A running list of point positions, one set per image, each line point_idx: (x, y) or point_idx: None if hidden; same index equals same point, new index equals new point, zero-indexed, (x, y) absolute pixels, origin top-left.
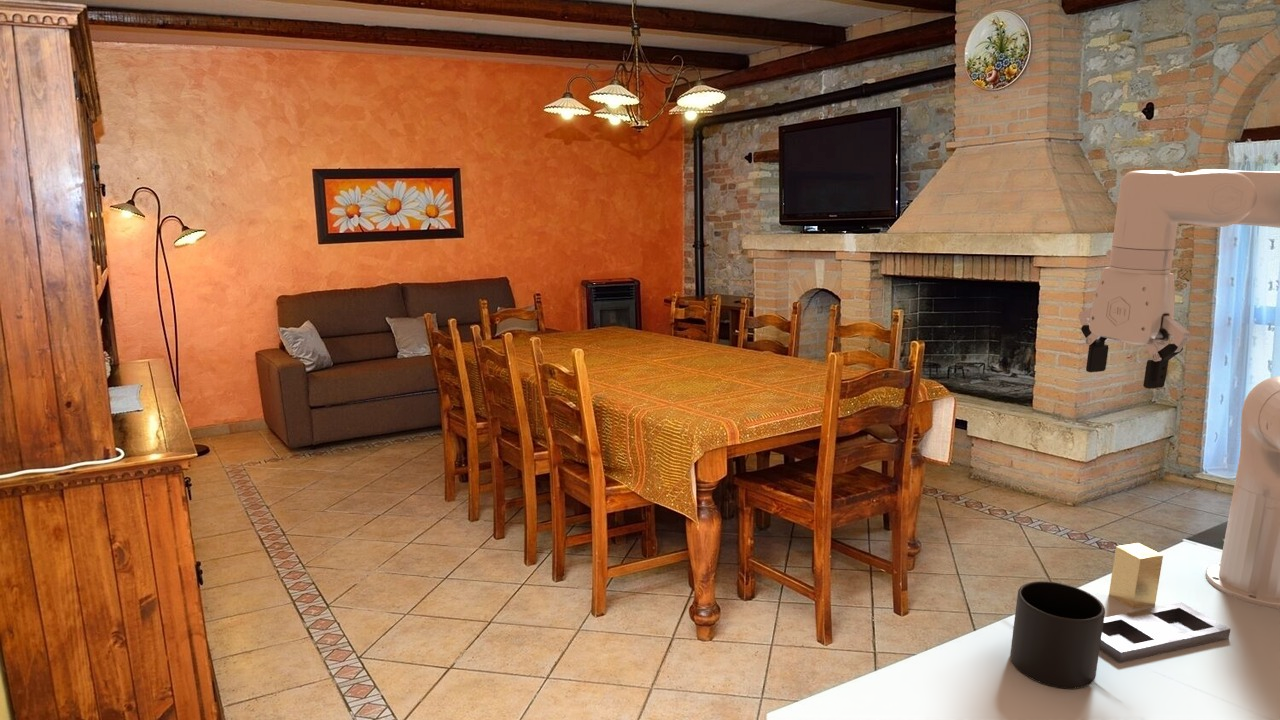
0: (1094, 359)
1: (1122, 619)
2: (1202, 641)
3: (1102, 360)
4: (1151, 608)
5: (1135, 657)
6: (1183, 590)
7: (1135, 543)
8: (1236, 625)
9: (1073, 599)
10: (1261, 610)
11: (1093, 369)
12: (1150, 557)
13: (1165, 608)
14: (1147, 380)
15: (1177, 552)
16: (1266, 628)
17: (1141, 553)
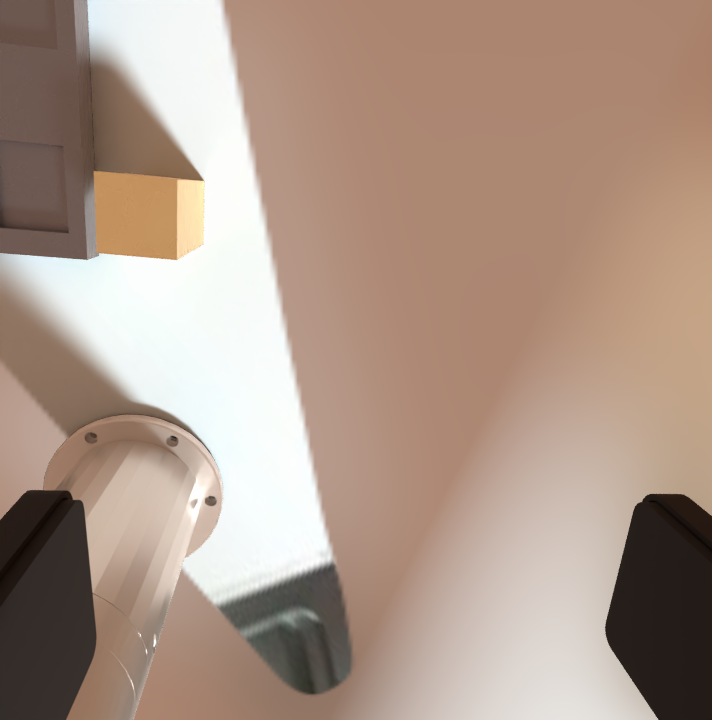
0: (708, 599)
1: (56, 51)
2: None
3: (669, 674)
4: (82, 169)
5: None
6: (181, 362)
7: (175, 248)
8: (38, 329)
9: None
10: (73, 427)
11: (642, 536)
12: (96, 208)
13: (73, 199)
14: (1, 527)
15: (308, 494)
16: (15, 371)
17: (119, 205)
